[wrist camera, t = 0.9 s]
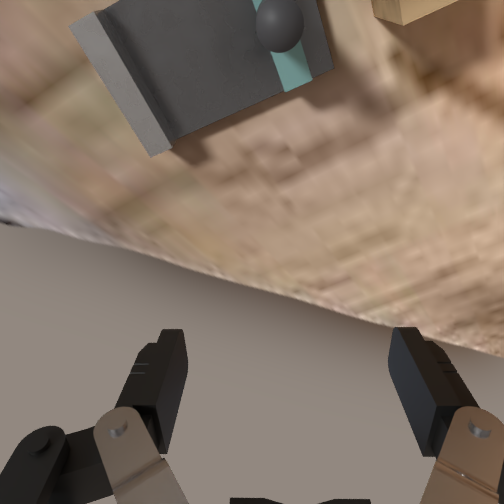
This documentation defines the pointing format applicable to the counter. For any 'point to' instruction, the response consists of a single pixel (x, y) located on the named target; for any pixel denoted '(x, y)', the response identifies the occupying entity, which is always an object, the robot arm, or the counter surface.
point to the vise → (188, 61)
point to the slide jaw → (283, 39)
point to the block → (406, 9)
